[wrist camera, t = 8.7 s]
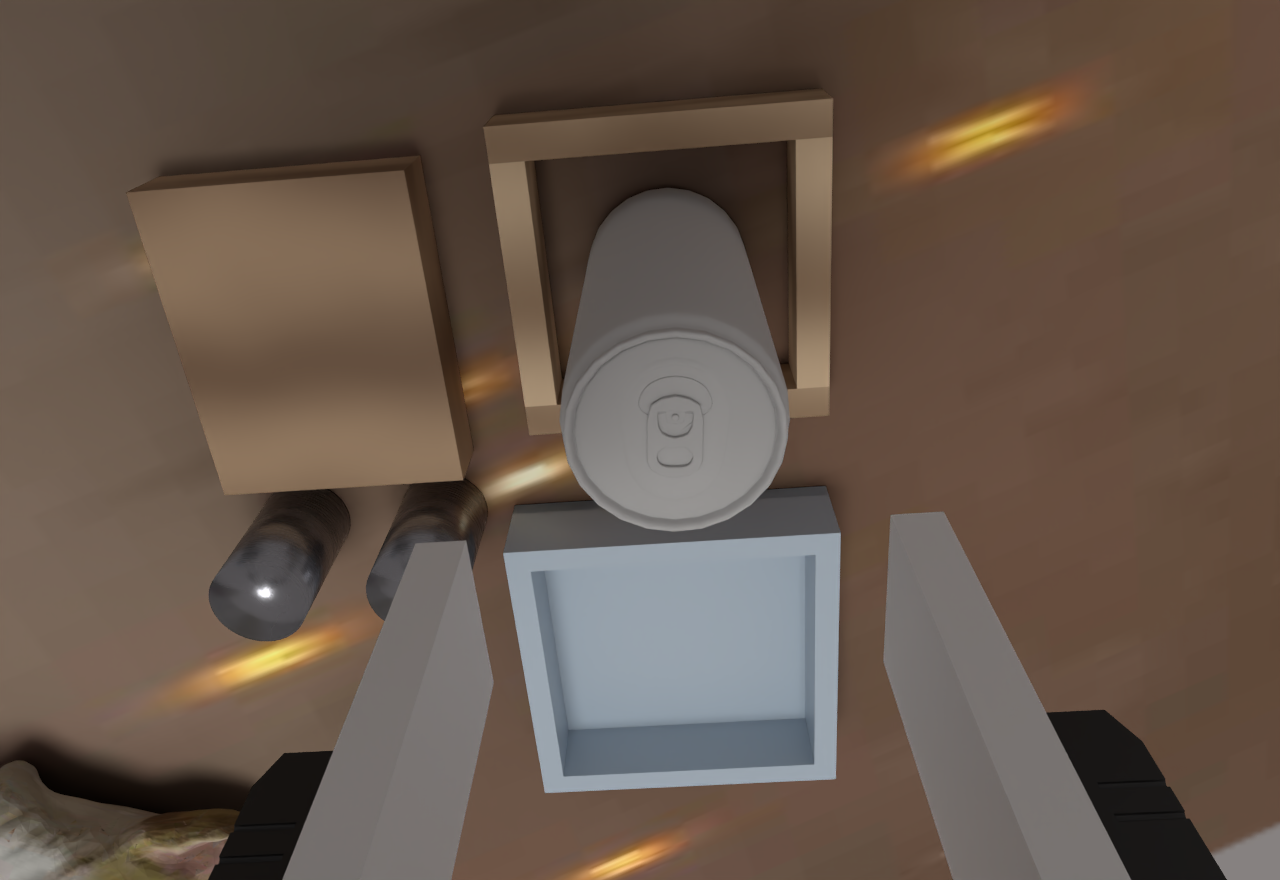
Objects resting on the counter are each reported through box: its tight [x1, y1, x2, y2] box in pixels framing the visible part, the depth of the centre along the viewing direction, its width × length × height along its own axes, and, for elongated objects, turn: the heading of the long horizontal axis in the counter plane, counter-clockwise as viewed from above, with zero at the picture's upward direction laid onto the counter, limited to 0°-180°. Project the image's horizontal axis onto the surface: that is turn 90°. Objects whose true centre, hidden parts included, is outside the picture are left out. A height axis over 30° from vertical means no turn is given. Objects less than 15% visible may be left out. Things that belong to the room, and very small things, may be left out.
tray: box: [503, 486, 841, 793], centre depth 35 cm, size 11×11×3 cm
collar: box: [483, 88, 833, 435], centre depth 29 cm, size 10×10×2 cm
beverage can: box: [559, 188, 790, 532], centre depth 25 cm, size 5×5×12 cm
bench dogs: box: [209, 479, 488, 641], centre depth 32 cm, size 3×8×5 cm, turn 94°
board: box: [126, 156, 474, 495], centre depth 30 cm, size 10×8×2 cm
